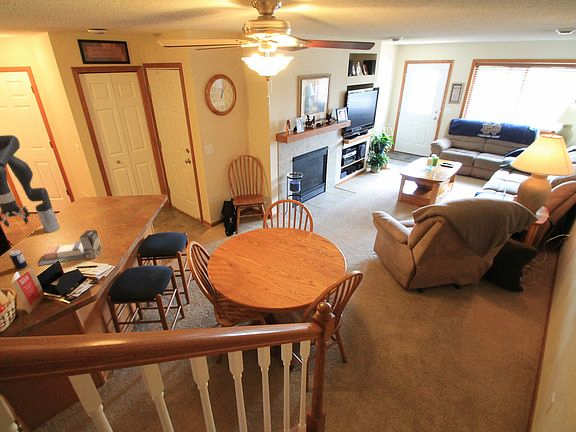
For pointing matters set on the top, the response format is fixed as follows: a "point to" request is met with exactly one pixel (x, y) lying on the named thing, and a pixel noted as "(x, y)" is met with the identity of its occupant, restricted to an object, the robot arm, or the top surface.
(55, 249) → the pink block
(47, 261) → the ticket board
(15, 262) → the beverage can
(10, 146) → the robot arm
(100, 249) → the coffee box
